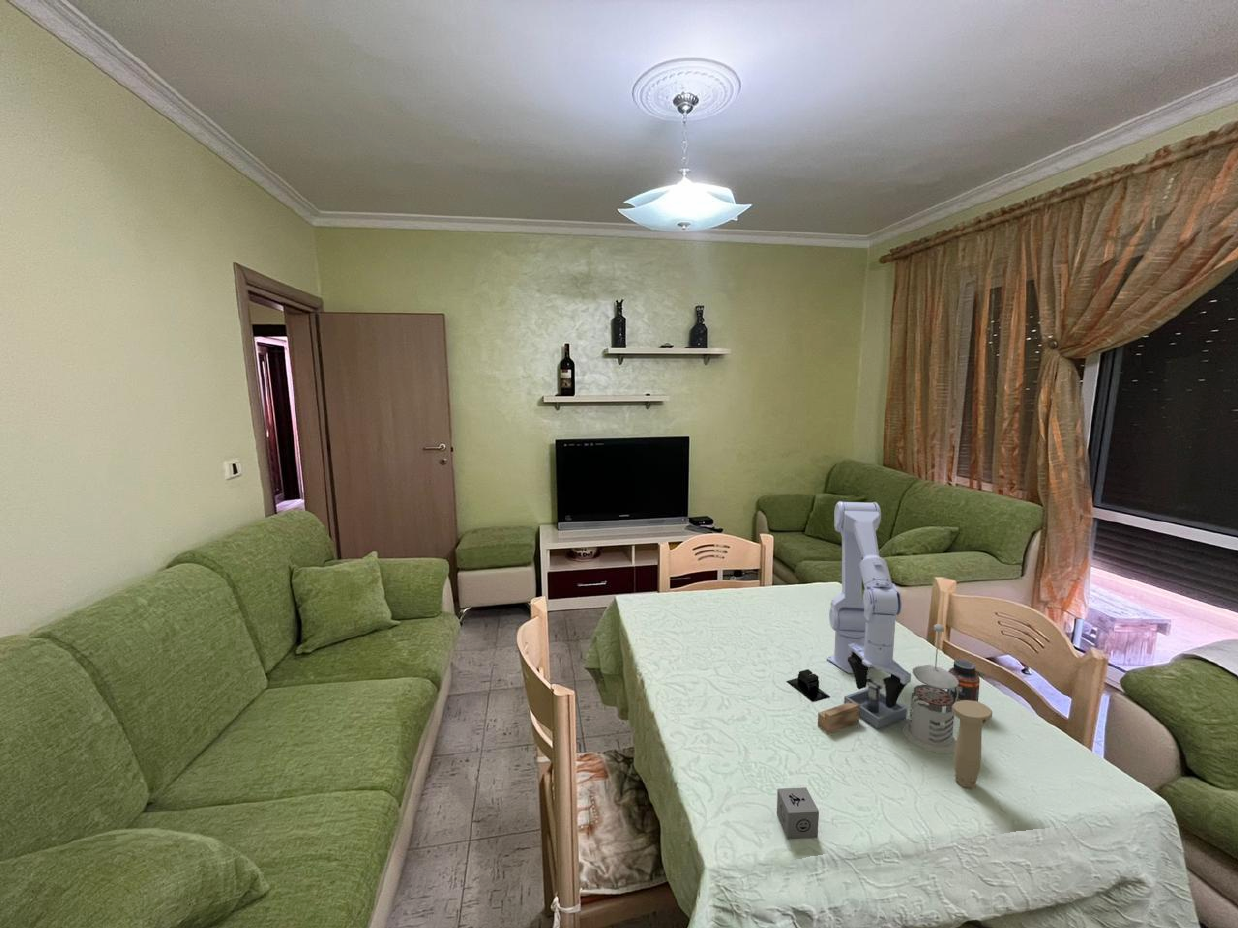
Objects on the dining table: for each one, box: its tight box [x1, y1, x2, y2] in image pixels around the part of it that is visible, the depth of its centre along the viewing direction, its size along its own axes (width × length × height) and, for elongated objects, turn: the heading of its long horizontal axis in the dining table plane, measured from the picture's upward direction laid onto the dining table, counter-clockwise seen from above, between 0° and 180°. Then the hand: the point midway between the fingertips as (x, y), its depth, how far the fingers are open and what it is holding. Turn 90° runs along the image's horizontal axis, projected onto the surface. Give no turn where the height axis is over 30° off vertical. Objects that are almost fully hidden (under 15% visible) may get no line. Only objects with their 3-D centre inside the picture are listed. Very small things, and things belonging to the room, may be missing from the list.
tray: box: [843, 688, 908, 731], centre depth 113 cm, size 9×9×2 cm
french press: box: [903, 623, 959, 754], centre depth 104 cm, size 10×12×25 cm
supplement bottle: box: [946, 658, 981, 703], centre depth 113 cm, size 6×6×11 cm
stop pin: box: [866, 677, 884, 713], centre depth 113 cm, size 3×3×7 cm
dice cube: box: [776, 786, 820, 841], centre depth 84 cm, size 5×5×5 cm
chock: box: [817, 702, 860, 735], centre depth 109 cm, size 9×3×4 cm, turn 114°
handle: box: [952, 700, 993, 789], centre depth 92 cm, size 5×6×15 cm
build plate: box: [785, 668, 831, 703], centre depth 122 cm, size 12×7×5 cm, turn 21°
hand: (875, 696), depth 113 cm, fingers open, 7 cm apart
